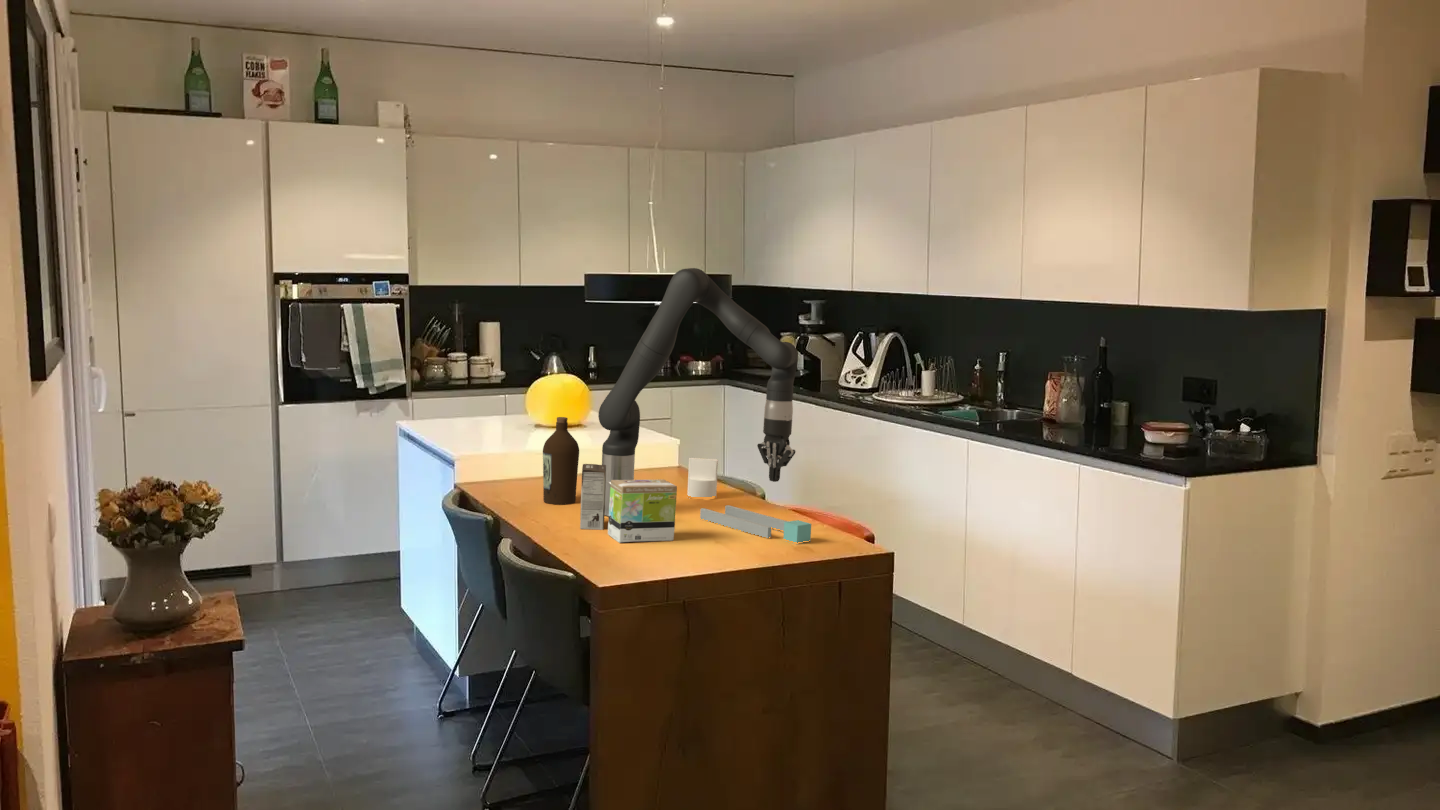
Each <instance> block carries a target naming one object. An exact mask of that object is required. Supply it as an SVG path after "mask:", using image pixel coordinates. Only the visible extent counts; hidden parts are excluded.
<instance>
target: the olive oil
mask: <svg viewBox="0 0 1440 810" xmlns="http://www.w3.org/2000/svg"><path fill="white" fill-rule="evenodd" d="M555 424H556V425H555V431H553V433H552V434H550V436H549V437H548V438H547V439H545V442H544V444H543V447H542V470H543V471H542V473H543V475H542V476H543V477H542V481H543V484H542V485H543V486H542V487H543V503H546V504H548V505H549V504H550V505H562V506H565V505H572V504H575V503H576V500H577V485H578V483H577V482H578V471H579V461H580V460H579V458H580V447H579V443H578V441H577V440H576V439H575V438H574V437H573V435H572V434H571V433H570V432H569V429H568V427H569V426H568V425H569V422H568V417H565V416H559V417H558V416H557V417H556V422H555Z"/></svg>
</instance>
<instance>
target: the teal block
mask: <svg viewBox="0 0 1440 810" xmlns="http://www.w3.org/2000/svg"><path fill="white" fill-rule="evenodd" d="M788 521H789V520H788ZM811 535H812V523H810V522H805V521H803V520H798V519H797V520H791V521H789V522H784V532H783V539H786V540H789V541H793V542H797V543H798V542H803V541H809V540H810V541H811V540H812V539H811V537H812V536H811Z"/></svg>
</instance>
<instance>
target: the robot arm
mask: <svg viewBox="0 0 1440 810" xmlns="http://www.w3.org/2000/svg"><path fill="white" fill-rule="evenodd" d="M660 302H661V303H660V305H659V307H658V309H657V310H656V312H655V313H654V315H653V316H652V319H651V320H650V321H649V323H648V325H647V327H646V329H645V330H644V332H643V334H642V336H641V337H640V339H639V341H638V342H637V344H636V346H635V347H634V350H633V352H632V354H631V356H630V358H629V359H628V361H627V362H626V364H625V366H624V368H623V370H622V372H621V374H620V376H619V378H618V380H617V381H616V383H615V384H614V385H613V387H612V388H611V390H610V392H609V393H608V394H607V395H606V396H605V398H604V400H603V401H602V403H601V404H600V406H599V410H598V414H597V415H598V421H599V424H600V426H601V427H602V428H603V429H605V430H607V431H609V435H608V437H607V439H606V440H605V441H604V442H603V443H602V450H601V451H602V452H601V465H606V489H605V514H604V516H605V517H609V502H610V486H611V480H635V462H636V461H635V460H636V458H635V457H636V448H637V445H638V443H639V437H640V426H641V410H640V406H639V404H638V403H637V401H636V399H637V397H638V396H639V395H640V393H641V391H643V389H645V387H646V386H648V385H649V383H650V382H652V381H653V379H655V378H656V377H657V375H658V374H659V373H660V372H661V370H662V369H663V368H664V366H665V364H666V363H667V361H668V359H669V357H670V355H671V354H672V352H673V350H674V348H675V346H676V345H675V343H676V340H677V336H678V332H679V327H680V325H681V323H682V321H683V319H684V317H685V316H686V314H687V312H688V310H689V309H690V308H691V306H692V305H693V304H694V303H697V304H698V305H701V306H703V308H706V309H707V310H709V311H710V312H711V313H713V314H714V315H715V316H716V317H717V318H718V319H719V320H720V321H721V322H722V324H723V325H724V326H725V328H727V329H728V330H729V331H730V333H731V334H733V335H734V336H735V337H736V338H737V339H739V340H740V341H741V342H742V343H744V344H745V345H747V346H748V347H750V348H751V349H752V350H753V351H754V352H755V353H756V354H757V355H758V356H759V357H760V358H761V359H762V360H763V361H764V362H765V363H766V364H767V365H768V366H770V367H771V374H770V378H769V379H768V380H767V383H766V398H765V404H764V414H763V430H762V432H763V434H764V438H763V442H761V443H758V444H757V449H758V451H759V453H760V456H761V458H762V461H763V463H764V464H765V465H768V467H769V468H768V469H769V470H768V478H769V482H772V483H773V482H774V483H775V482H779V481H780V479H781V469H782V468H784V467H787V466H788V464H789V463H790V462H791V460H792V459H793V458H794V456H795V455H796V449H792V448H791V446H790V443H791V442H790V436H791V435H792V428H793V427H792V426H793V415H794V414H793V413H794V406H793V397H794V383H795V382H794V381H795V378H796V373H797V367H798V360H799V358H798V357H799V356H798V350H797V348H796V346H795V345H794V344H793V343H791V342H788V341H781V340H780V339H778V338H777V336H774V335H773V333H771V331H770V329H769V328H768V327H767V326H766V325H765V323H764V324H763V323H762V322H761V321H760V320H759V319H758V318H756V317H755V316H754V315H752V314H751V313H750V312H748V311H746V309H744V308H743V307H742V306H740V305H739V304H737V302H736V301H734V300H733V299H732V298H731V297H730V296H728V295H727V294H726V293H725V291H723V290H722V288H720V287H719V286H718V285H717V284H716V282H715V281H714V280H713V279H712V278H711V277H710V276H709V275H708V274H707V273H706V272H705V271H703V270H702V269H700V268H697V267H696V268H695V267H690V268H689V267H688V268H682V269H680V270H678V271H677V272H676V273H674V274H673V276H672V277H671V279H670V281H669V283H668V285H667V287H666V291H665V293H664V295H663V298H662V300H661V301H660Z"/></svg>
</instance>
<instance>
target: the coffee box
mask: <svg viewBox="0 0 1440 810" xmlns="http://www.w3.org/2000/svg"><path fill="white" fill-rule="evenodd" d="M581 469H582V470H581V487H580V489H581V490H580V517H579V518H580V525H579V526H580V527H579V529H580V530H596V531H597V530H600V531H601V530H602V531H603V530H604V526H605V515H604V514H605V489H606V465H602V464H596V463H583V464H582V467H581Z"/></svg>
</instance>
